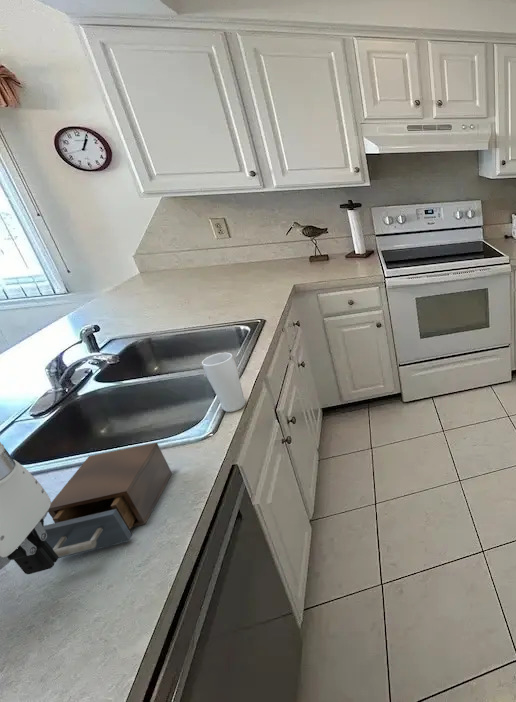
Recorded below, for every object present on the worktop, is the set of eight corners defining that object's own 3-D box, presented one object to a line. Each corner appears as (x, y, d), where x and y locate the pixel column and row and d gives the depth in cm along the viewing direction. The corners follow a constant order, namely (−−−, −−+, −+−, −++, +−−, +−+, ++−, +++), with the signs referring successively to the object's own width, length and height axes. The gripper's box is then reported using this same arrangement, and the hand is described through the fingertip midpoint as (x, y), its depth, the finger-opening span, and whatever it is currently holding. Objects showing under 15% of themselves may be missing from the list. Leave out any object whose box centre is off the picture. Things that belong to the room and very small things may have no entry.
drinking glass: (254, 402, 112) (238, 355, 106) (231, 417, 106) (212, 367, 100) (238, 397, 115) (221, 350, 108) (214, 411, 109) (195, 362, 103)
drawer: (118, 560, 70) (100, 533, 67) (42, 580, 67) (20, 552, 64) (157, 489, 84) (144, 463, 81) (95, 503, 81) (79, 477, 78)
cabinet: (145, 524, 77) (126, 491, 74) (69, 542, 74) (45, 509, 70) (172, 473, 89) (157, 442, 85) (107, 487, 86) (89, 456, 82)
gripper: (-22, 445, 59) (44, 532, 67) (-127, 531, 46) (-29, 627, 54) (43, 432, 61) (100, 519, 69) (-40, 511, 48) (42, 607, 56)
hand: (43, 566), depth 61 cm, fingers closed
